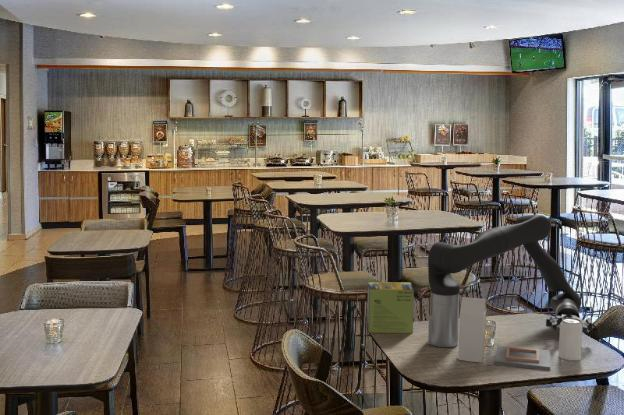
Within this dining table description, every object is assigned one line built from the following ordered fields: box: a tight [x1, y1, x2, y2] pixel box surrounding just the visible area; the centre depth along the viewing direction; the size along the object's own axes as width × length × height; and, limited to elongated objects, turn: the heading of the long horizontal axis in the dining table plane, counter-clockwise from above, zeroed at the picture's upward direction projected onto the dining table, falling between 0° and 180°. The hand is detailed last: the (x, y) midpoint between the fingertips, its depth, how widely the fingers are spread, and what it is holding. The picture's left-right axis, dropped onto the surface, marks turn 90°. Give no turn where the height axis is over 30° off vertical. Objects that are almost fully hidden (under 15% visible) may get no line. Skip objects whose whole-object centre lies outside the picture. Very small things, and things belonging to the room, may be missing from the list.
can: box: [558, 318, 583, 362], centre depth 214 cm, size 6×6×12 cm
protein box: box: [366, 281, 415, 334], centre depth 242 cm, size 10×15×16 cm
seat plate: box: [493, 344, 551, 371], centre depth 214 cm, size 16×15×2 cm
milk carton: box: [457, 296, 487, 364], centre depth 213 cm, size 7×7×19 cm
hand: (569, 329), depth 221 cm, fingers open, 8 cm apart
